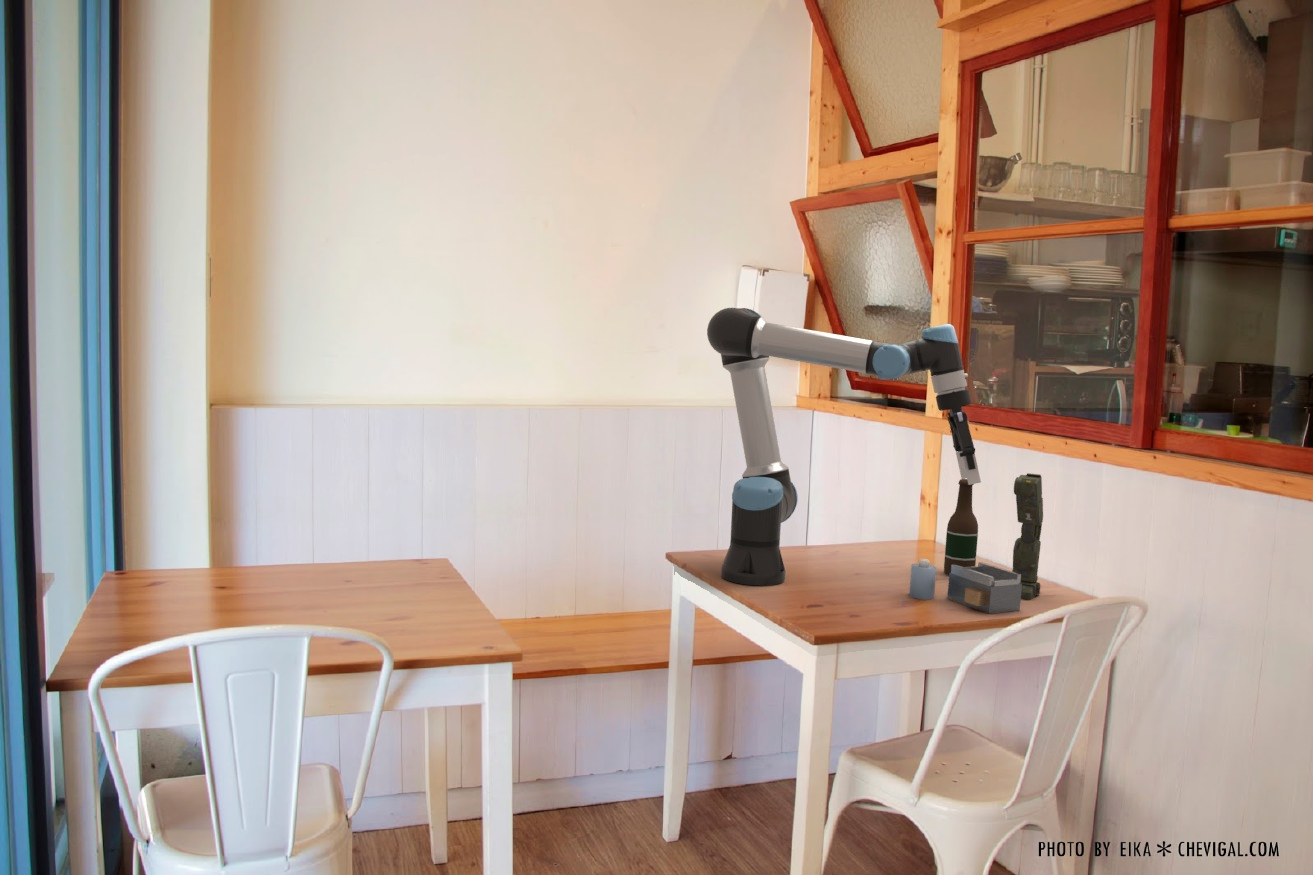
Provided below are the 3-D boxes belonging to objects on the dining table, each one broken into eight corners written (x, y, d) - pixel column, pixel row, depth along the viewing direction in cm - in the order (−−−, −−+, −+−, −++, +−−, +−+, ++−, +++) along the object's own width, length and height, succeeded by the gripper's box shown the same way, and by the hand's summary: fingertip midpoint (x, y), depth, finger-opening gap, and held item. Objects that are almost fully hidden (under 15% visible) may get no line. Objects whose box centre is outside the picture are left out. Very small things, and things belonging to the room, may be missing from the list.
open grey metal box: (934, 597, 240) (937, 562, 240) (971, 593, 245) (973, 559, 244) (981, 614, 227) (984, 578, 226) (1019, 610, 232) (1022, 574, 231)
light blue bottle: (904, 594, 242) (906, 558, 241) (922, 592, 244) (925, 556, 243) (920, 600, 237) (922, 563, 236) (939, 598, 239) (941, 561, 238)
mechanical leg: (1015, 580, 257) (1019, 464, 247) (1046, 585, 253) (1051, 467, 244) (1002, 604, 246) (1005, 484, 236) (1034, 610, 242) (1038, 488, 233)
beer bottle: (953, 569, 269) (960, 476, 267) (981, 575, 264) (988, 480, 261) (937, 573, 264) (944, 478, 261) (965, 580, 258) (972, 483, 256)
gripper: (974, 388, 231) (995, 482, 232) (961, 387, 256) (980, 472, 256) (940, 395, 233) (960, 489, 233) (930, 393, 257) (949, 478, 258)
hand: (971, 480), depth 245 cm, fingers open, 13 cm apart
